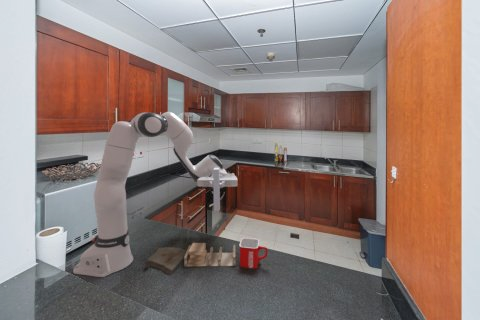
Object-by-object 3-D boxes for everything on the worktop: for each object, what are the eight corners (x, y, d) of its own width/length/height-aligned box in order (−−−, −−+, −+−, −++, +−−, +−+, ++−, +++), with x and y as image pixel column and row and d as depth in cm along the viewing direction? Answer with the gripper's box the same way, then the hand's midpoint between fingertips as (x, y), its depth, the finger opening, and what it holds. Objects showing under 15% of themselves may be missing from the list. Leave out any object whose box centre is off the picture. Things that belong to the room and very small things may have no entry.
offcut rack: (184, 269, 89) (184, 257, 88) (189, 256, 99) (189, 245, 98) (235, 268, 89) (235, 257, 89) (235, 255, 99) (235, 244, 99)
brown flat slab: (172, 279, 83) (172, 269, 83) (139, 274, 86) (139, 265, 85) (190, 255, 99) (189, 247, 99) (162, 252, 102) (161, 244, 102)
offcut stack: (188, 265, 89) (187, 252, 88) (192, 254, 97) (191, 242, 97) (205, 265, 89) (204, 252, 89) (207, 254, 98) (207, 242, 97)
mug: (238, 270, 89) (238, 246, 87) (241, 258, 97) (241, 237, 95) (266, 273, 86) (267, 249, 85) (267, 261, 95) (267, 239, 93)
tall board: (213, 211, 97) (213, 169, 94) (214, 207, 102) (214, 167, 100) (219, 211, 97) (218, 169, 94) (219, 207, 102) (219, 167, 100)
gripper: (199, 173, 110) (194, 179, 96) (237, 173, 111) (237, 179, 97) (199, 185, 111) (194, 192, 97) (237, 184, 111) (237, 192, 98)
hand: (216, 185), depth 97 cm, fingers closed on tall board, 2 cm apart
